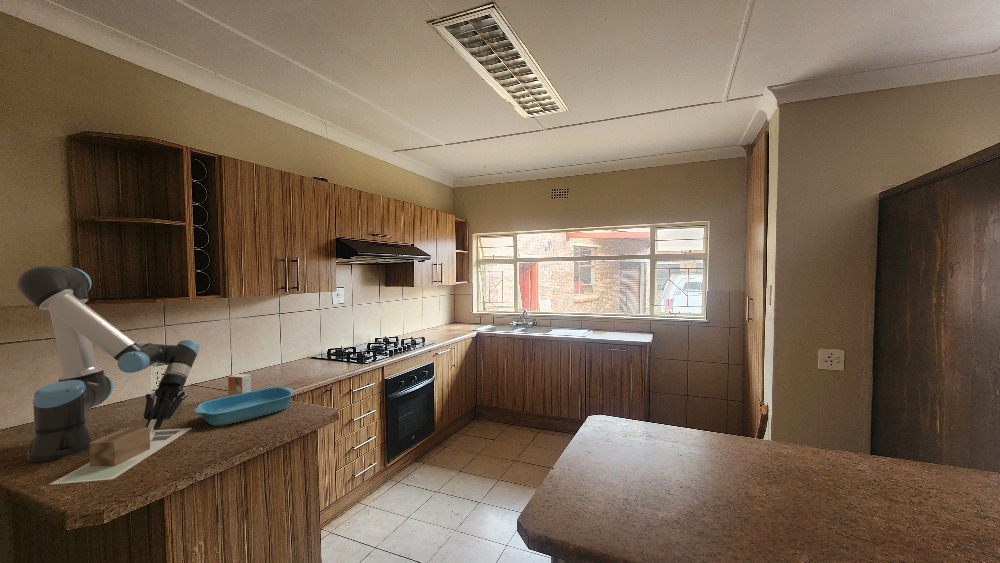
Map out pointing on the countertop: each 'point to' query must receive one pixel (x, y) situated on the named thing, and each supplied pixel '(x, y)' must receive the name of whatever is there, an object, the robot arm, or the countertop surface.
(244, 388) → the small box
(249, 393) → the casserole dish
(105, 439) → the walnut block
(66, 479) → the board
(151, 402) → the robot arm
